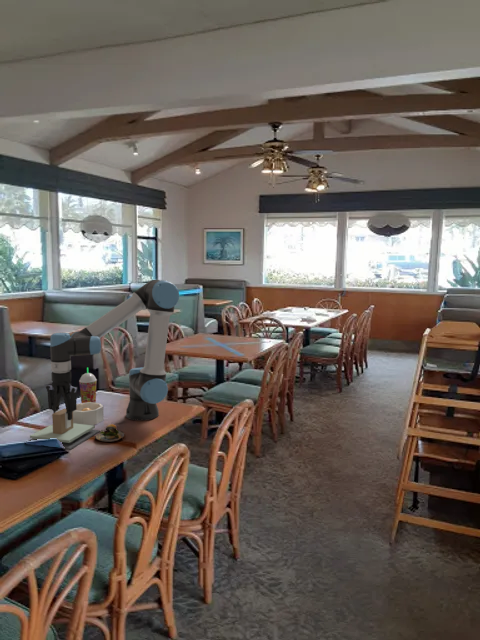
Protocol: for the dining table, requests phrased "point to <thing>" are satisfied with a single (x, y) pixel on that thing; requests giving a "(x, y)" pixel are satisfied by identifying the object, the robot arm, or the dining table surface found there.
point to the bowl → (88, 413)
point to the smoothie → (88, 388)
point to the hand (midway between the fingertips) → (63, 426)
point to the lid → (62, 429)
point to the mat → (78, 439)
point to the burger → (110, 434)
